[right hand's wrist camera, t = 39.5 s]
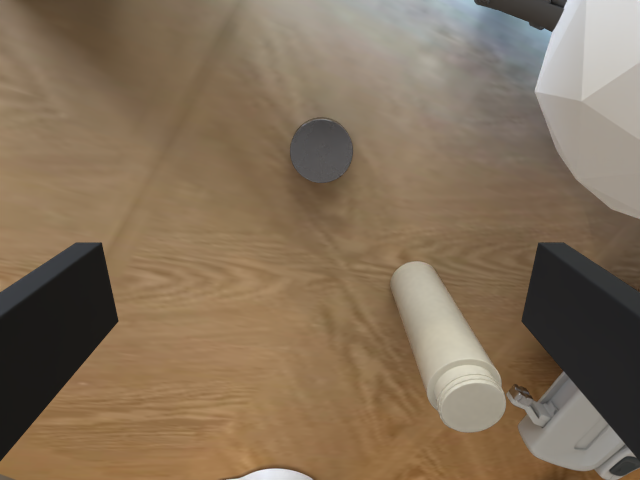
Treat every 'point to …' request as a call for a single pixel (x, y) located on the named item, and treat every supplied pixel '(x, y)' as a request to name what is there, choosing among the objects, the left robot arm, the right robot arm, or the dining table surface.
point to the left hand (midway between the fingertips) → (538, 360)
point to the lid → (321, 150)
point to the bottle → (447, 351)
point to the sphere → (591, 90)
